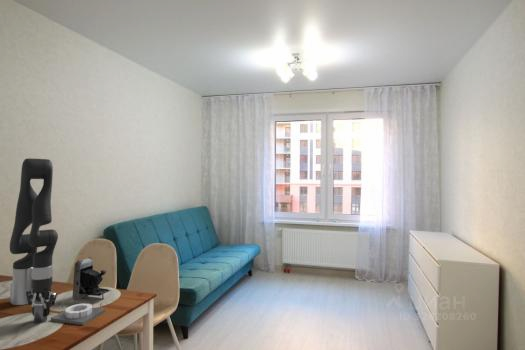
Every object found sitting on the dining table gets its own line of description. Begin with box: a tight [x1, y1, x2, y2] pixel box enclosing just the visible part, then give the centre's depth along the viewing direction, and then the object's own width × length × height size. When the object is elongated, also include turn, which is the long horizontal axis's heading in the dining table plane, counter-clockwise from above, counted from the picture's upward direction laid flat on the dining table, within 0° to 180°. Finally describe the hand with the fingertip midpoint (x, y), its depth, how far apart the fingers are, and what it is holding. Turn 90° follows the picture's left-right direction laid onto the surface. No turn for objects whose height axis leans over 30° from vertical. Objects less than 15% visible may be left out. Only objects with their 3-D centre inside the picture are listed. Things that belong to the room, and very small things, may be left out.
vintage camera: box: [72, 256, 111, 300], centre depth 167 cm, size 10×16×20 cm, turn 79°
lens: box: [33, 299, 48, 324], centre depth 140 cm, size 5×5×9 cm
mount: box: [50, 303, 106, 326], centre depth 146 cm, size 16×14×4 cm
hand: (40, 315), depth 140 cm, fingers closed on lens, 4 cm apart
